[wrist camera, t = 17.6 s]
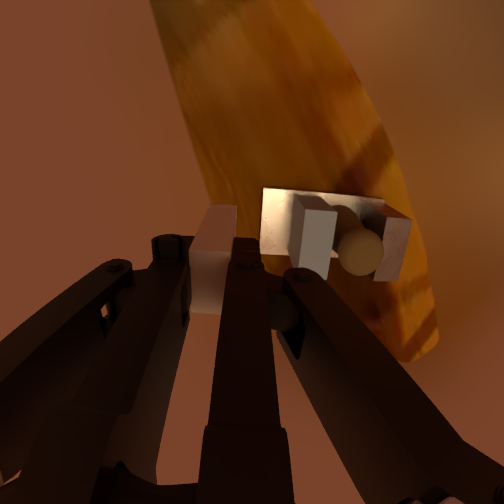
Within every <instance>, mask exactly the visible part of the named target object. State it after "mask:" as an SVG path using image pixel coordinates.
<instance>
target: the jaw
mask: <svg viewBox="0 0 504 504" xmlns="http://www.w3.org/2000/svg"><path fill="white" fill-rule="evenodd" d="M336 219H337V211H336V210H335V209H334V208H333V207H331V206H330V205H329V204H328V203H327V202H326V201H325V200H324V199H323V198H321V197H320V196H310V195H298V194H294V199H293V209H292V219H291V229H290V238H289V247H288V253H289V256H290V259H291V262H292V265H293V268H295V267H296V268H300V267H305V268H309V269H310V270H313V271H315V272H316V273H318V274H319V275H320V276H321V277H322V278H323V279H324V280H327V274H328V269H329V263H330V257H331V251H332V245H333V239H334V233H335V226H336Z"/></svg>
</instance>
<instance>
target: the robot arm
mask: <svg viewBox="0 0 504 504" xmlns="http://www.w3.org/2000/svg"><path fill="white" fill-rule="evenodd" d="M236 213H237V205H219V204H210V206H209V208H208V210H207V212H206V214H205V216H204V219H203V221H202V223H201V225H200V227H199V229H198V231H197V233H196V235H195V236H181V235H176V234H165V235H160V236H157V237H154V238H153V239H152V240H151V241H152V254H153V261H152V262H151V264H150V265H149V267H148V269H142V270H132V263H131V262H130V261H128V260H124V259H112V260H110V261H107V262H105V263H103V264H101V265H100V266H98V267H97V268H95V269H94V270H93V271H91V272H90V273H88V274H87V275H85V276H84V277H83V278H81V279H80V280H79V281H77V282H76V283H74V284H73V285H72V286H70V287H69V288H68V289H66V290H65V291H63V292H62V293H61V294H59V295H58V296H57V297H55V298H54V299H53V300H51V301H50V302H49V303H47V304H46V305H45V306H44V307H42V308H41V309H40V310H38V311H37V312H36V313H35V314H33V315H32V316H31V317H30V318H28V319H27V320H26V321H25V322H23V323H22V324H21V325H20V326H18V327H17V328H16V329H15V330H13V331H12V332H11V333H10V334H9V335H7V336H6V337H5V338H4V339H3V340H2V341H1V342H0V504H295V503H294V493H293V483H292V473H291V463H290V454H289V444H288V438H287V432H286V430H285V428H282V427H281V424H280V415H279V405H278V394H277V384H276V374H275V365H274V354H273V344H272V336H271V329H274V330H277V331H276V334H277V338H278V340H279V342H280V344H281V346H282V347H283V350H284V351H285V353H286V355H287V357H288V359H289V361H290V363H291V365H292V367H293V369H294V371H295V373H296V375H297V377H298V378H299V381H300V383H301V385H302V387H303V388H304V390H305V392H306V394H307V396H308V398H309V400H310V402H311V404H312V406H313V408H314V410H315V412H316V413H317V415H318V417H319V419H320V421H321V423H322V425H323V427H324V428H325V431H326V432H327V434H328V436H329V438H330V440H331V442H332V444H333V446H334V447H335V449H336V451H337V453H338V455H339V457H340V459H341V460H342V462H343V464H344V466H345V468H346V470H347V472H348V474H349V475H350V477H351V479H352V481H353V483H354V485H355V487H356V488H357V490H358V492H359V494H360V496H361V497H362V499H363V500H364V502H365V504H504V467H503V466H502V465H500V464H499V463H497V462H495V461H494V460H492V459H491V458H489V457H488V456H486V455H484V454H483V453H482V452H480V451H478V450H477V449H475V448H474V447H473V446H471V445H469V444H468V443H466V442H465V441H463V440H462V438H461V437H460V436H459V435H458V433H457V432H456V431H455V430H454V428H453V427H452V426H451V425H450V424H449V422H448V421H447V420H446V418H445V417H444V416H443V415H442V414H441V413H440V411H439V410H438V409H437V407H436V406H435V405H434V404H433V403H432V401H431V400H430V399H429V398H428V397H427V396H426V394H425V393H424V392H423V391H422V390H421V388H420V387H419V386H418V385H417V384H416V382H415V381H414V380H413V379H412V378H411V377H410V375H409V374H408V373H407V372H406V371H405V370H404V368H403V367H402V366H401V365H400V364H399V363H398V361H397V360H396V359H395V358H394V357H393V356H392V355H391V353H390V352H389V351H388V350H387V349H386V348H385V347H384V345H383V344H382V343H381V342H380V341H379V340H378V339H377V337H376V336H375V335H374V334H373V333H372V332H371V331H370V330H369V328H368V327H367V326H366V325H365V324H364V323H363V322H362V321H361V320H360V318H359V317H358V316H357V315H356V314H355V313H354V312H353V311H352V310H351V308H350V307H349V306H348V305H347V304H346V303H345V302H344V301H343V300H342V299H341V298H340V296H339V295H338V294H337V293H336V292H335V291H334V290H333V289H332V288H331V287H330V286H329V285H328V283H327V282H326V281H325V280H324V279H323V278H322V277H321V276H320V275H319V274H318V273H316V272H315V271H313V270H310V269H309V268H305V267H300V268H296V267H295V268H290V269H288V270H286V271H285V273H284V276H283V277H281V276H276V275H273V274H270V273H268V272H267V271H265V269H264V264H263V263H262V262H261V253H260V243H259V242H258V241H257V240H256V239H255V238H240V237H235V235H236ZM190 304H191V310H192V312H193V313H207V314H221V320H220V327H219V335H218V343H217V351H216V359H215V367H214V376H213V384H212V393H211V401H210V410H209V419H208V425H207V426H205V429H204V435H203V442H202V451H201V460H200V469H199V479H198V483H191V484H178V485H157V479H156V462H157V457H158V452H159V448H160V442H161V438H162V433H163V428H164V424H165V419H166V415H167V410H168V406H169V402H170V397H171V392H172V389H173V384H174V380H175V376H176V372H177V368H178V364H179V359H180V356H181V352H182V347H183V344H184V340H185V336H186V332H187V328H188V324H189V321H190V315H189V308H190ZM104 305H106V309H107V313H108V314H107V315H106V316H105V317H103V316H102V313H101V308H102V307H103V306H104ZM21 469H22V470H21ZM20 470H21V472H20V475H19V477H18V478H16V479H14V480H13V481H11V482H9V483H7V484H5V482H6V481H8V480H9V479H10V478H12V477H14V476H15V475H16V474H17V473H18V472H19V471H20Z"/></svg>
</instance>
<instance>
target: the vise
mask: <svg viewBox="0 0 504 504" xmlns="http://www.w3.org/2000/svg"><path fill="white" fill-rule="evenodd" d="M294 194H298V195H310V196H320V197H321V198H323V199H324V200H325V201H326V202H327V203H328V204H329V205H330V206H333V205H344V206H347V207H349V208H350V209H352V210H353V212H354V213H355V214H356V216H357V217H358V218H359V220H360V221H361V223H362V224H363V226H364V227H365V229H370V230H371V231H373V232H374V233H376V234H377V235H378V236H379V238H380V239H381V241H382V243H383V247H384V256H383V259H382V262H381V264H380V265H379V267H378V268H377V269H376V270H375V271H373V272H372V273H370V274H368V275H369V276H370V277H371V279H372V280H373V281H397V280H398V277H399V273H400V269H401V265H402V262H403V258H404V254H405V249H406V245H407V241H408V236H409V232H410V227H411V222H412V219H410V218H408V217H407V216H405V215H403V214H402V213H400V212H398V211H397V210H395V209H393V208H392V207H390V206H388V205H386V204H385V203H384V202H385V200H384V199H382V198H378V197H370V196H361V195H353V194H344V193H334V192H324V191H313V190H302V189H289V188H275V187H263V198H262V212H261V226H260V240H259V243H260V253H261V254H275V255H289V253H288V247H289V238H290V229H291V219H292V209H293V199H294ZM331 257H337V258H338V254H337V253H336V252H334V251H333V250H332V251H331Z"/></svg>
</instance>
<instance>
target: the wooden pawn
mask: <svg viewBox="0 0 504 504" xmlns="http://www.w3.org/2000/svg"><path fill="white" fill-rule="evenodd" d="M331 207H333V208H334V209H335V210H336V211H337V219H336V226H335V233H334V239H333V245H332V250H333V251H334V252H336V253H337V254H338V258H339V261H340V263H341V265H342V266H343V268H344V269H345V270H346V271H348V272H349V273H351V274H353V275H358V276H362V275H367V274H370V273H372V272H373V271H375V270H376V269H377V268H378V267H379V265H380V264H381V262H382V259H383V256H384V247H383V243H382V241H381V239H380V238H379V236H378V235H377V234H376V233H374V232H373V231H371V230H370V229H365V227H364V226H363V224H362V223H361V221H360V220H359V218H358V217H357V216H356V214H355V213H354V212H353V210H352V209H350V208H349V207H347V206H344V205H333V206H331Z"/></svg>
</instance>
